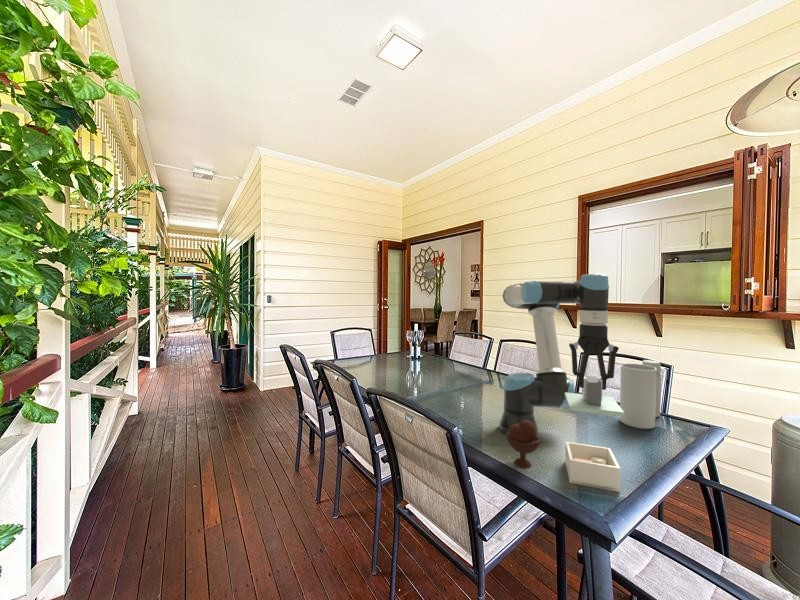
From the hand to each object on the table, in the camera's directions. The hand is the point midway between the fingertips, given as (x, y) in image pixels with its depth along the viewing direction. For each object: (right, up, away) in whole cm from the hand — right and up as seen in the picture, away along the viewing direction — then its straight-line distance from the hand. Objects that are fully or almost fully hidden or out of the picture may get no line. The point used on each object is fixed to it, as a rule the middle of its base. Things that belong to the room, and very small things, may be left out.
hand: (591, 398), depth 103 cm
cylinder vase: (+43, -23, +41) cm, 64 cm away
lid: (0, -2, 0) cm, 2 cm away
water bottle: (+56, -23, +51) cm, 79 cm away
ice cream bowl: (-19, -24, +8) cm, 32 cm away
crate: (0, -24, +1) cm, 25 cm away
